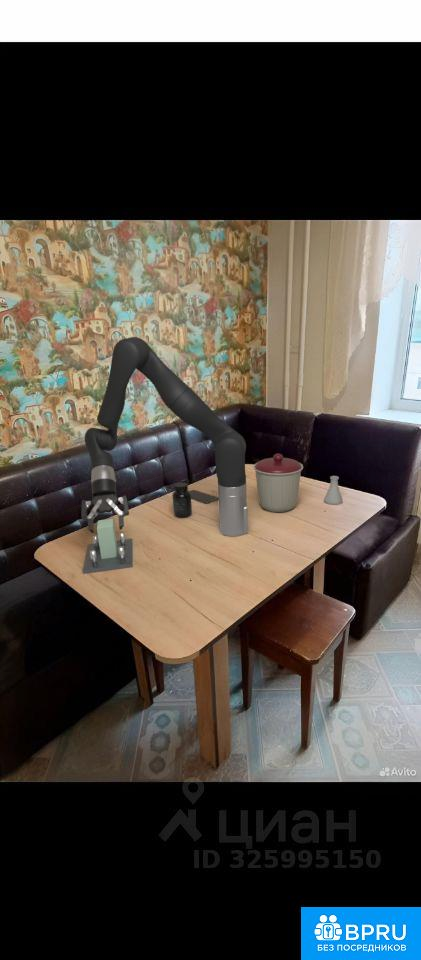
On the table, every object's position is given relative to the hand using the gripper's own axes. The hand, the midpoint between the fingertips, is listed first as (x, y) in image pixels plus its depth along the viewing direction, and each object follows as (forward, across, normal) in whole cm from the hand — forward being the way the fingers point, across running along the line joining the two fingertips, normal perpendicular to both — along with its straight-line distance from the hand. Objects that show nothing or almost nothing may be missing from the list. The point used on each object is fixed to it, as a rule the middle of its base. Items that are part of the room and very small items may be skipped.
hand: (106, 530), depth 124 cm
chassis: (+7, 0, +4) cm, 8 cm away
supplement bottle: (-10, +26, +22) cm, 36 cm away
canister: (-8, +62, +20) cm, 65 cm away
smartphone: (-21, +35, +34) cm, 53 cm away
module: (+6, 0, +4) cm, 7 cm away
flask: (-7, +84, +19) cm, 86 cm away
